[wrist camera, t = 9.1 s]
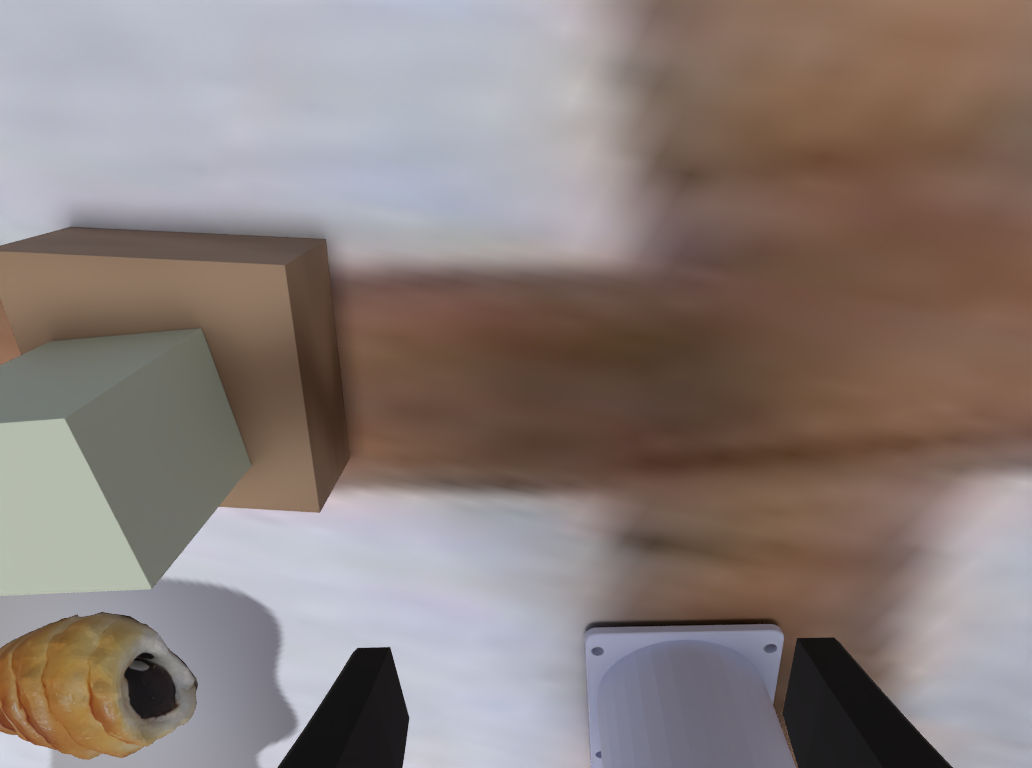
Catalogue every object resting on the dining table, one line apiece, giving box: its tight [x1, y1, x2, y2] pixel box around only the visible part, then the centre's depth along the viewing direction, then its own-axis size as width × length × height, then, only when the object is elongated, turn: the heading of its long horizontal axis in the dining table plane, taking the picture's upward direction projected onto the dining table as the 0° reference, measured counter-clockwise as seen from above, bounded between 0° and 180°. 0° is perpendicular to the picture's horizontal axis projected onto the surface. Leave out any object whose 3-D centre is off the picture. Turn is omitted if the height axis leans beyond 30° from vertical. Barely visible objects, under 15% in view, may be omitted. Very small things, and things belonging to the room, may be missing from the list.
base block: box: [0, 227, 350, 513], centre depth 18 cm, size 8×8×4 cm
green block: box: [0, 328, 252, 596], centre depth 15 cm, size 4×4×5 cm
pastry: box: [0, 612, 198, 760], centre depth 26 cm, size 9×7×4 cm
